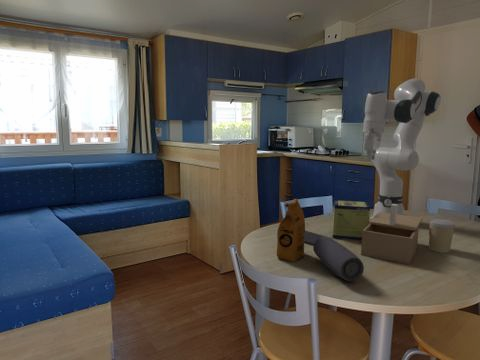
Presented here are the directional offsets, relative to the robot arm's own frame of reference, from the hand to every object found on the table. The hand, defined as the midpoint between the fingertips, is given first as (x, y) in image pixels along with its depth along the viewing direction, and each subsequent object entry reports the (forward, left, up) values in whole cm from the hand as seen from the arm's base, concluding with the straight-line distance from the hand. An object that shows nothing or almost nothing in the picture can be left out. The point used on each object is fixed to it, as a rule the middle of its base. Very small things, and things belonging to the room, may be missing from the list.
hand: (370, 160), depth 170 cm
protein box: (+2, -7, -36) cm, 37 cm away
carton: (+14, +13, -36) cm, 40 cm away
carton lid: (+4, +13, -26) cm, 29 cm away
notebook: (+16, -23, -36) cm, 46 cm away
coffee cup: (-1, +30, -36) cm, 47 cm away
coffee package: (+41, -19, -36) cm, 57 cm away
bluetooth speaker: (+46, +1, -36) cm, 58 cm away
